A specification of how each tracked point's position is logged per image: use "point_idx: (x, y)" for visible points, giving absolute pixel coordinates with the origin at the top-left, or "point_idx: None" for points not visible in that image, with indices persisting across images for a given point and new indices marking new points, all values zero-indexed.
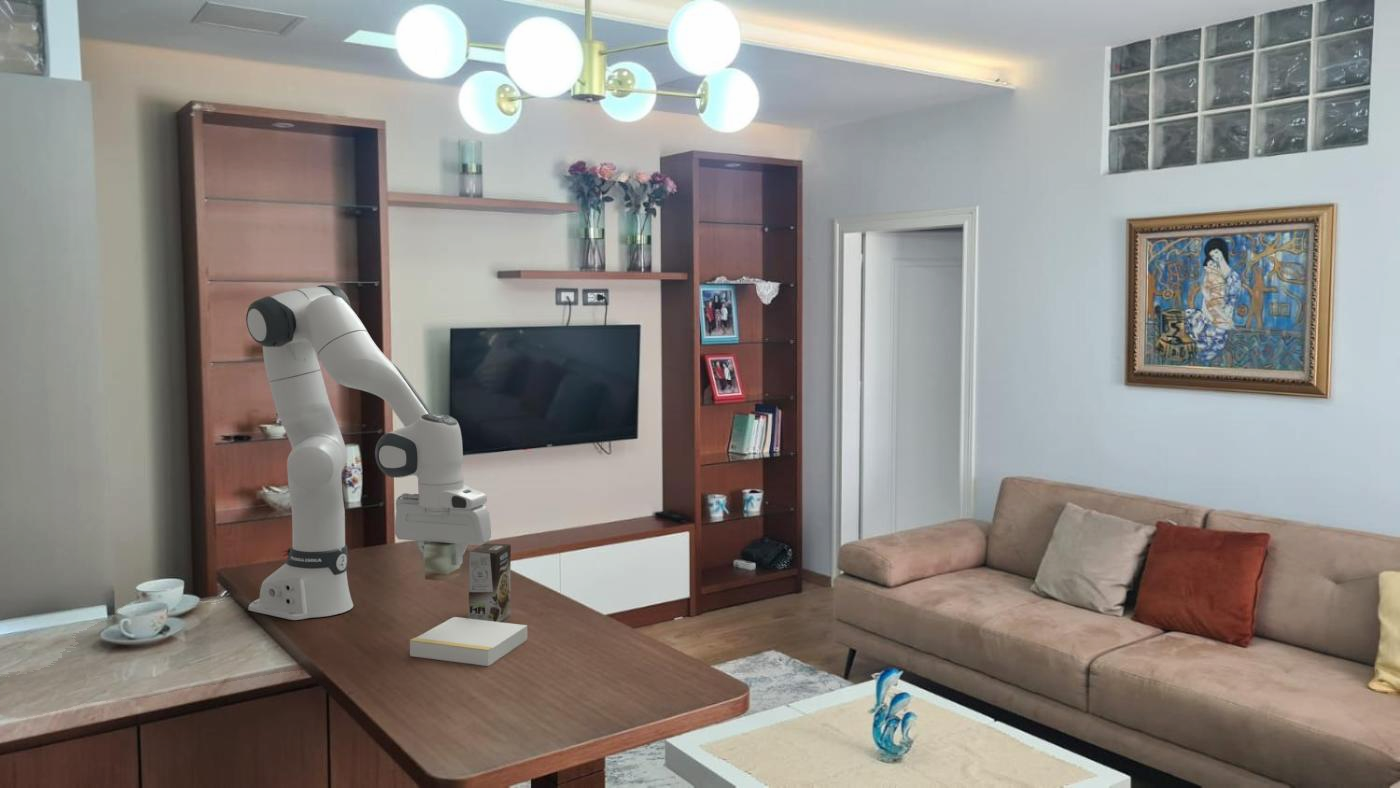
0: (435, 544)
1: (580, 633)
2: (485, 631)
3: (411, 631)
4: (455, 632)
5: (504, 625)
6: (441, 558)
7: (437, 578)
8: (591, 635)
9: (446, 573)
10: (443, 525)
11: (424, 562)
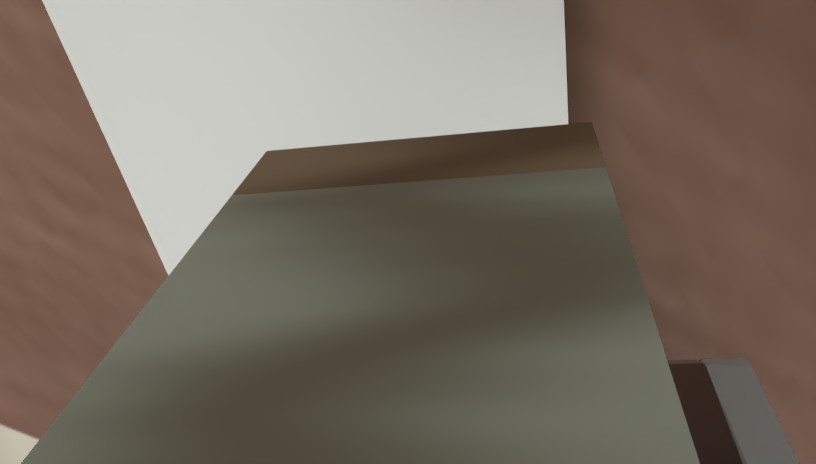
0: None
1: None
2: None
3: (787, 159)
4: (392, 78)
5: None
6: (228, 339)
7: (396, 148)
8: (77, 376)
9: (240, 198)
10: None
11: (733, 359)
